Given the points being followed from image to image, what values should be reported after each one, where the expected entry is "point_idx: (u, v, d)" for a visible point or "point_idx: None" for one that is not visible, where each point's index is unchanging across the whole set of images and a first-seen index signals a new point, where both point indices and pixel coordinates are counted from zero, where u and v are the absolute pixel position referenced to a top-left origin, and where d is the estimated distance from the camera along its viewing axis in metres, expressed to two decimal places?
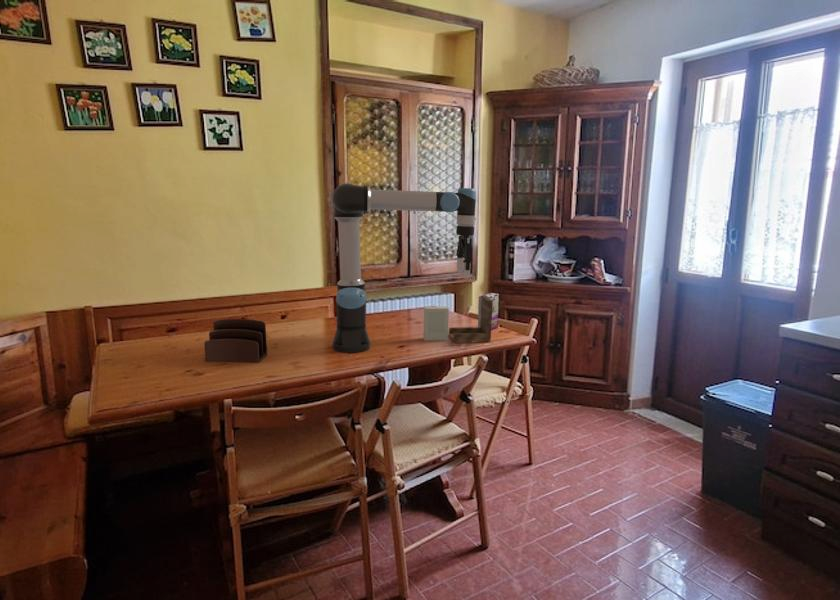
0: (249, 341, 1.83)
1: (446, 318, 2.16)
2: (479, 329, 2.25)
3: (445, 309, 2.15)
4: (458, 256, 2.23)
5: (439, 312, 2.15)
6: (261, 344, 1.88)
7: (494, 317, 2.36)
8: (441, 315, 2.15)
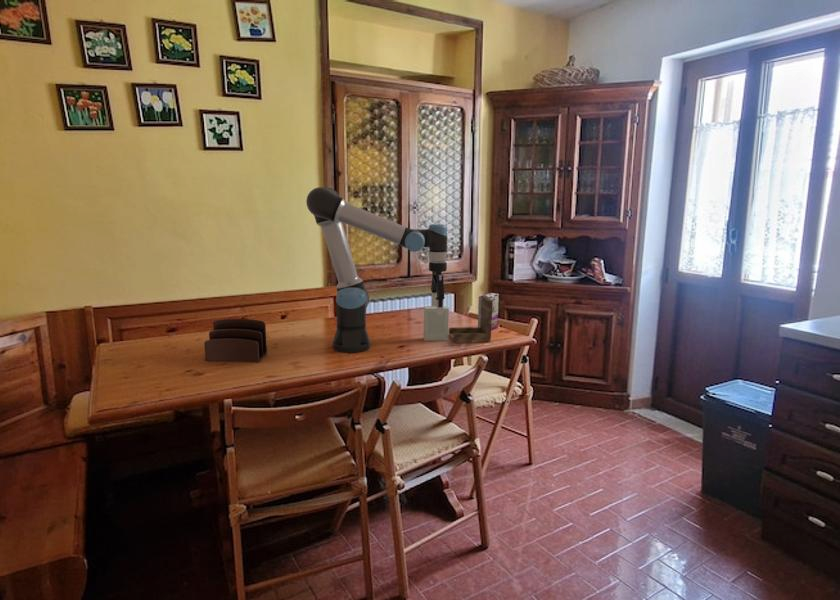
0: (249, 341, 1.83)
1: (446, 318, 2.16)
2: (479, 329, 2.25)
3: (445, 309, 2.15)
4: (432, 291, 2.22)
5: None
6: (261, 344, 1.88)
7: (494, 317, 2.36)
8: (441, 315, 2.15)
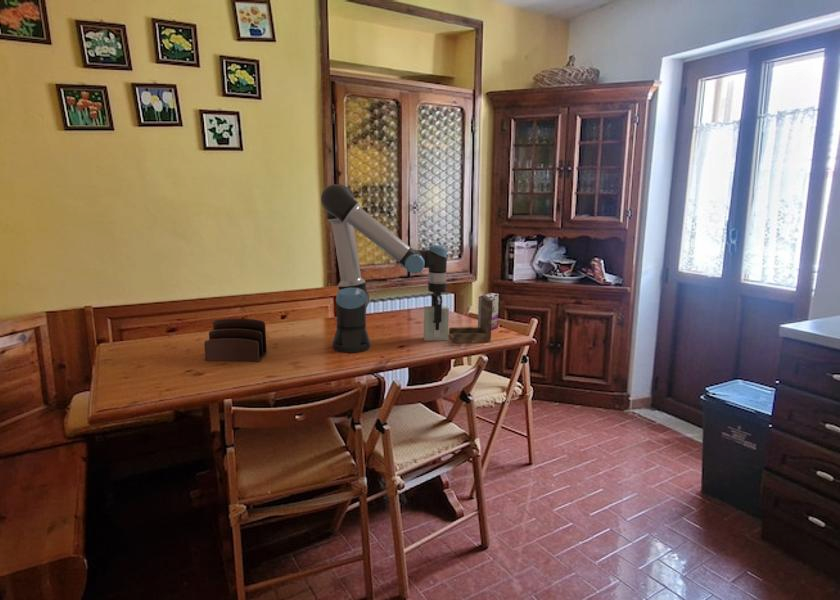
0: (249, 340, 1.84)
1: (446, 318, 2.16)
2: (479, 329, 2.25)
3: (445, 309, 2.15)
4: None
5: None
6: (261, 344, 1.89)
7: (494, 317, 2.36)
8: (441, 315, 2.15)
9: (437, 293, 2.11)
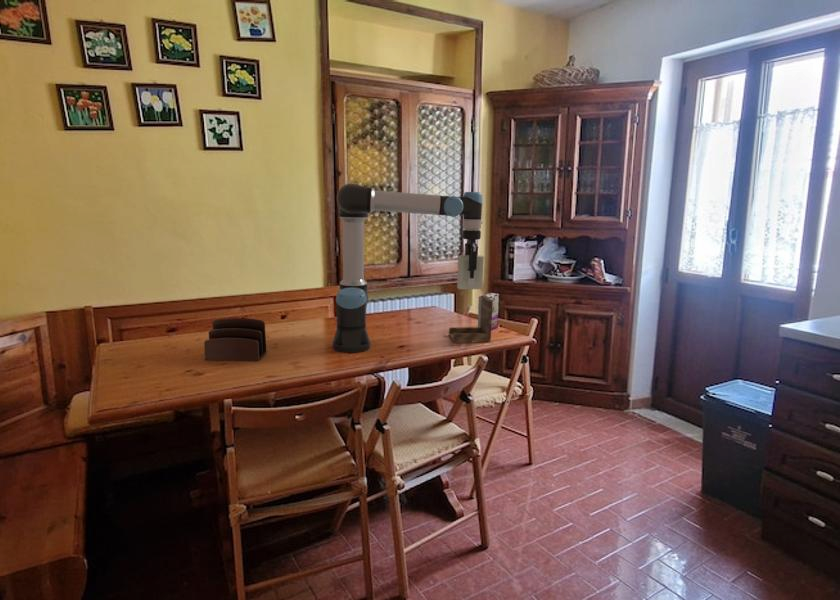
0: (249, 340, 1.84)
1: (481, 266, 2.13)
2: (479, 329, 2.25)
3: (480, 257, 2.12)
4: None
5: None
6: (261, 343, 1.89)
7: (494, 317, 2.36)
8: None
9: (472, 240, 2.09)
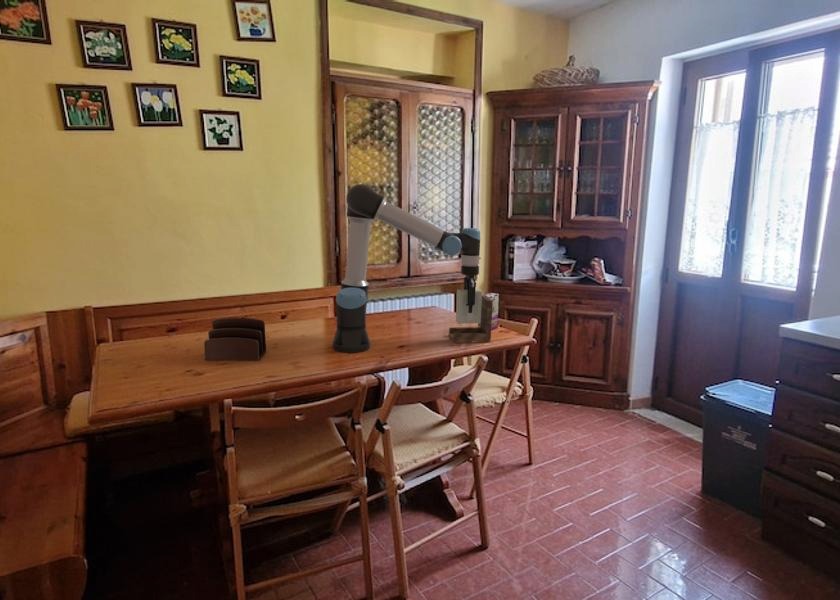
0: (249, 340, 1.85)
1: (479, 301, 2.16)
2: (479, 329, 2.25)
3: (478, 292, 2.16)
4: None
5: None
6: (261, 343, 1.90)
7: (494, 317, 2.36)
8: None
9: (471, 276, 2.12)
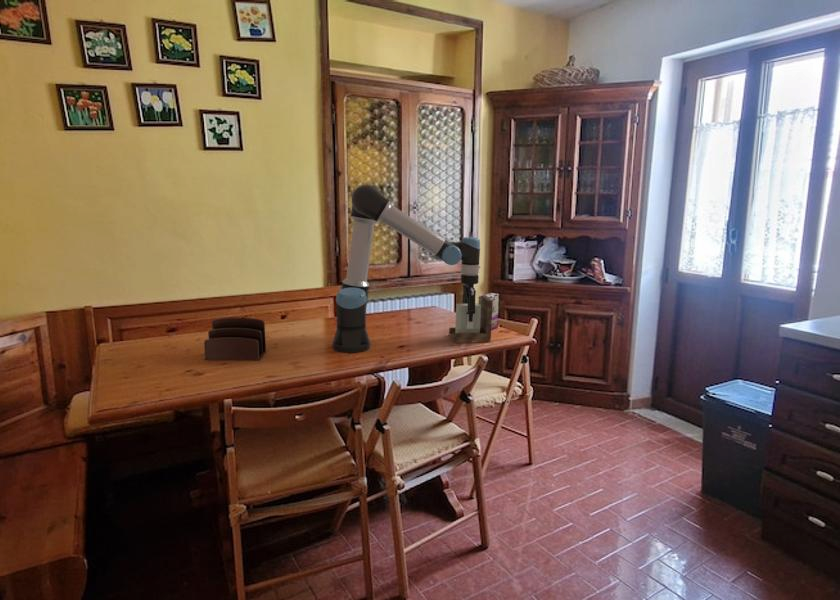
0: (249, 339, 1.85)
1: (478, 315, 2.18)
2: None
3: (477, 306, 2.17)
4: None
5: None
6: (261, 342, 1.90)
7: (494, 317, 2.36)
8: None
9: (470, 284, 2.13)
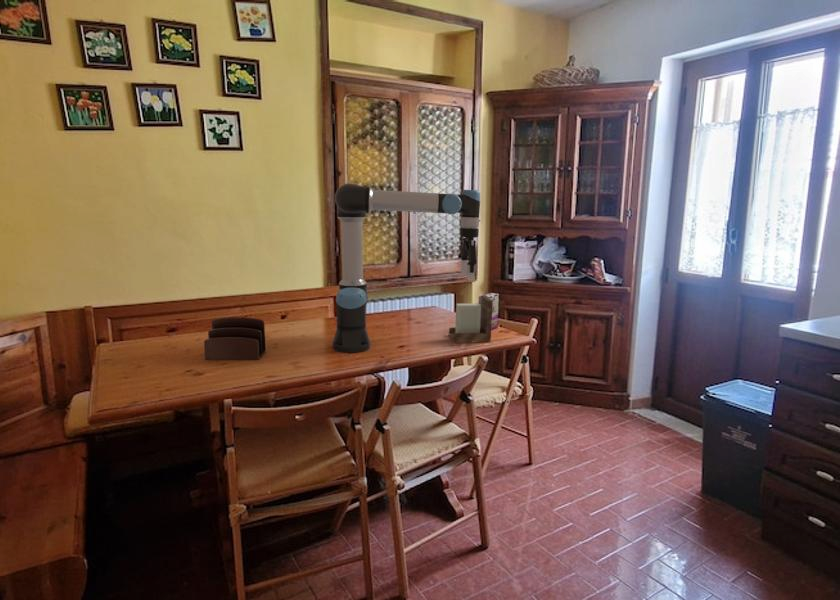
0: (249, 339, 1.86)
1: (478, 315, 2.18)
2: None
3: (477, 306, 2.17)
4: (462, 258, 2.21)
5: (471, 309, 2.17)
6: (261, 342, 1.90)
7: (494, 317, 2.36)
8: (473, 312, 2.17)
9: None
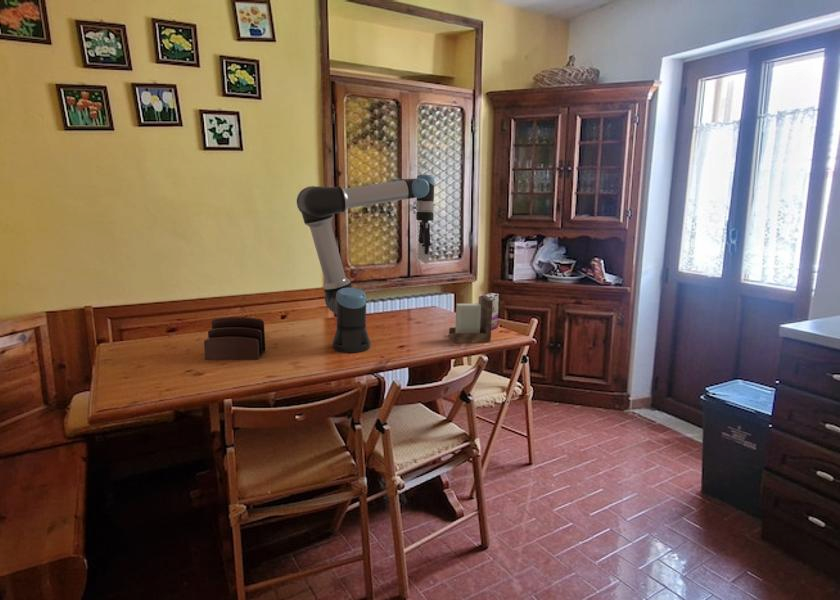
0: (249, 339, 1.86)
1: (478, 315, 2.18)
2: None
3: (477, 306, 2.17)
4: (420, 241, 2.31)
5: (471, 309, 2.17)
6: (261, 342, 1.91)
7: (494, 317, 2.36)
8: (473, 312, 2.17)
9: None
